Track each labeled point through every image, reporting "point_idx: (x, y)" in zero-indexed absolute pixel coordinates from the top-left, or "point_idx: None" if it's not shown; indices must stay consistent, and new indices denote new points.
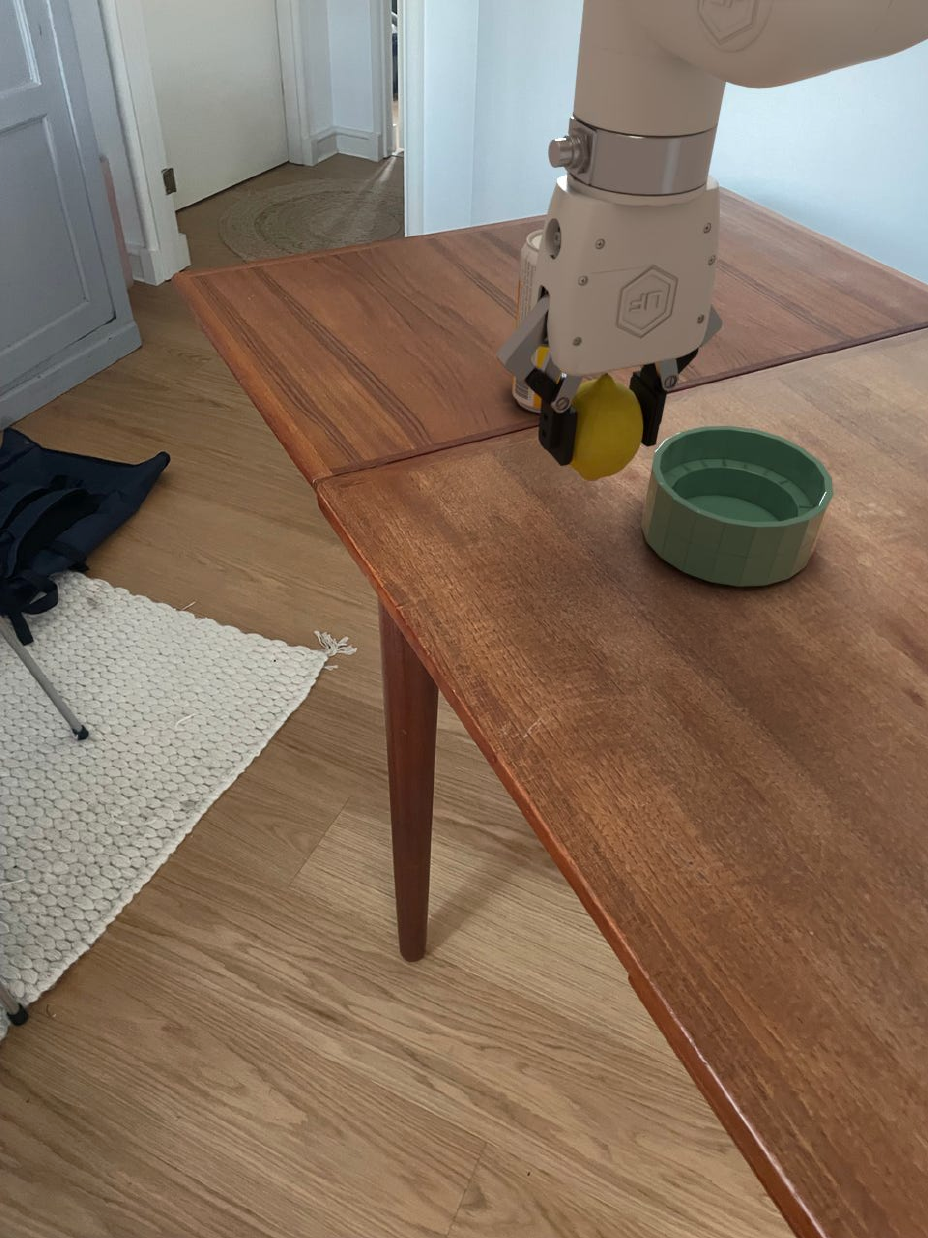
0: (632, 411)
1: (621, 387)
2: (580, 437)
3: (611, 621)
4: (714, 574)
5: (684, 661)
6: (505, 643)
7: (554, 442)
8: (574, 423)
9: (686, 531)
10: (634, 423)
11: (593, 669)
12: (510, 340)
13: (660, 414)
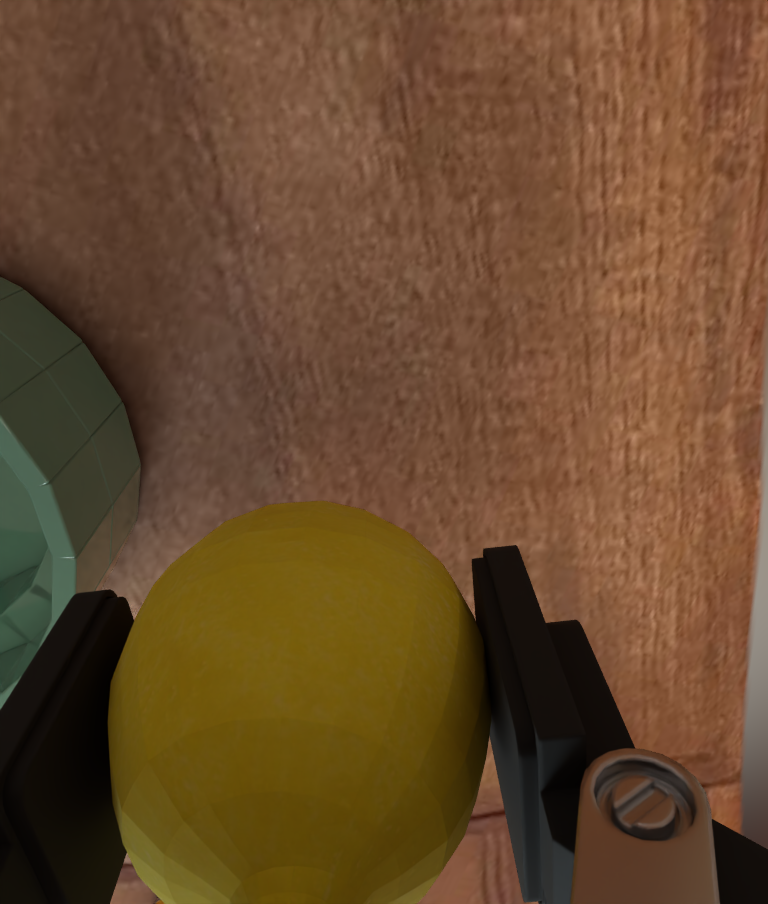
0: (181, 711)
1: (197, 877)
2: (456, 633)
3: (319, 228)
4: (4, 290)
5: (183, 24)
6: (598, 222)
7: (562, 637)
8: (527, 685)
9: (43, 395)
10: (182, 648)
11: (430, 67)
12: None
13: (15, 697)
